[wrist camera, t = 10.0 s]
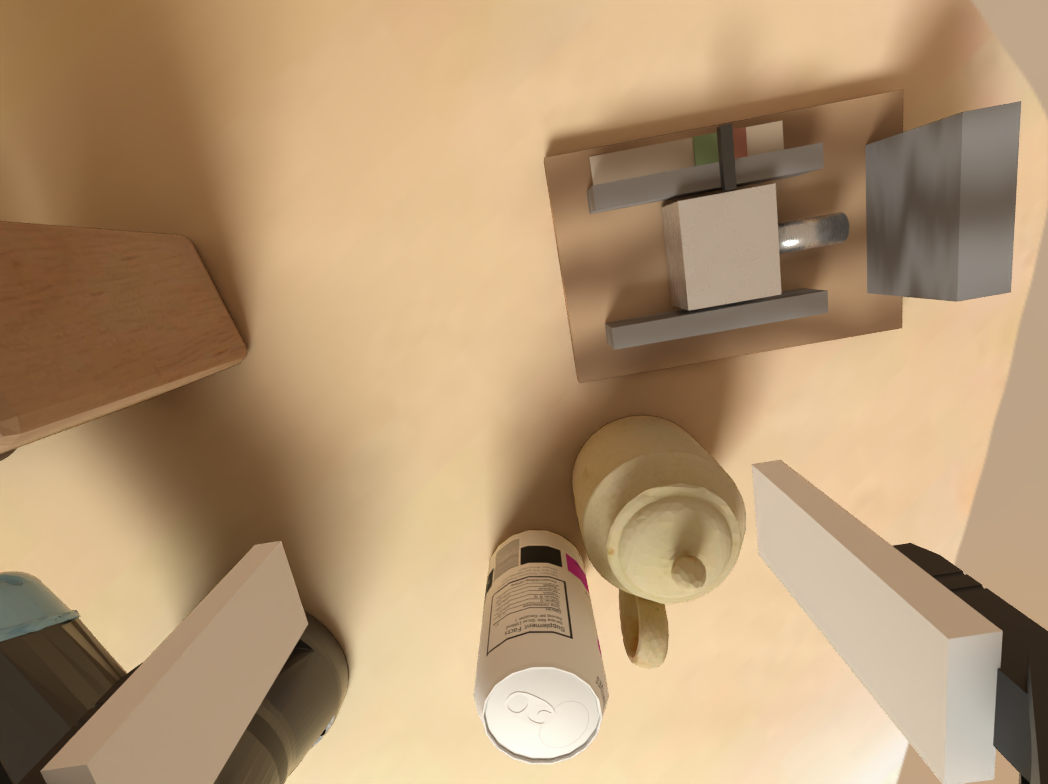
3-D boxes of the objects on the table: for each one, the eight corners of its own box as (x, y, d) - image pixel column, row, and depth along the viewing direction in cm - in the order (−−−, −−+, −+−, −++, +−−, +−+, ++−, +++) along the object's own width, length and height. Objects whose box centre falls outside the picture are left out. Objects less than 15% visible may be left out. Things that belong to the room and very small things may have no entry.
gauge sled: (824, 278, 37) (867, 281, 32) (671, 305, 37) (691, 311, 33) (819, 119, 34) (864, 97, 30) (655, 150, 35) (674, 134, 30)
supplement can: (601, 552, 44) (639, 695, 30) (552, 624, 46) (565, 792, 31) (519, 509, 43) (516, 634, 29) (471, 584, 45) (446, 738, 30)
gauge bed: (894, 324, 39) (1008, 343, 30) (577, 378, 40) (593, 413, 31) (894, 95, 36) (1024, 37, 26) (543, 161, 37) (550, 128, 27)
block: (192, 230, 38) (-157, 197, 18) (257, 356, 40) (7, 445, 21) (75, 280, 39) (-377, 299, 19) (145, 400, 41) (-196, 526, 22)
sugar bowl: (731, 551, 44) (834, 693, 30) (609, 591, 45) (650, 747, 31) (683, 393, 41) (772, 467, 26) (551, 440, 42) (566, 535, 27)
